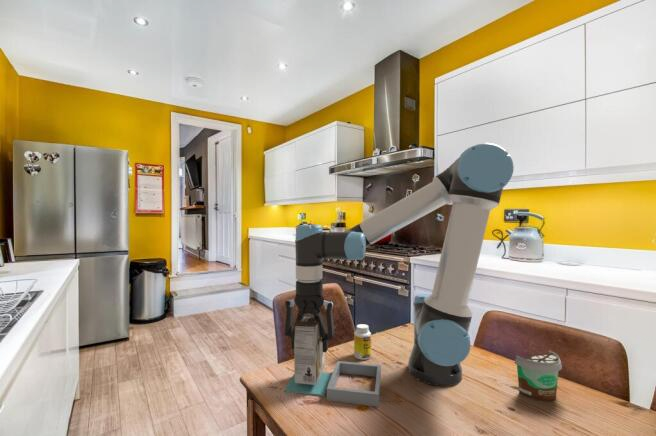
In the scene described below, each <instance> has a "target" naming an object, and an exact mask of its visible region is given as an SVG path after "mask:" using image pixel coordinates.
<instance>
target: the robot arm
mask: <svg viewBox="0 0 656 436" xmlns="http://www.w3.org/2000/svg"><path fill="white" fill-rule="evenodd" d="M514 167H515V166H514V161H513V158H512V156H511V155H510V154H509V152H508V151H507V150H506V149H505V148H503V147H502V146H501V145H498V144H495V143H490V142H485V143H484V142H483V143H477V144H476V145H473V146H470V147H468V148H466V149H465V150H464V151H463V152H462V153H461V154H460V156H459V157H457V159H455V160H454V161H453V162H452V164H450V165H449V167H447V168H446V169H444V170H442V172H440V173H439V174H436V175H435V176H434V177H433V180H432V182H429V183H427V185H424V186H423V187H421V188H419V189H417V190H416V191H414V192H412V193H410V194H409V195H407V196H406V197H403V198H401V199H399V200H398V201H397V202H395V203H393V204H391V205H389V206H387V207H386V208H383V209H382V210H381V211H379V212H377V213H375V214H374V215H372V216H370V217H368V218H366V219H365V220H363V221H361V222H360V223H358V224H356V225H354V226H353V227H351V228H349V229H347V230H345V231H324V230H323V226H322V225H321V224H299V225H297V227H296V228H295V240H294V244H295V245H294V246H295V279H296V281H295V297H294V298H293V299H292V298H288V299H287V300H286V301H285V302H284V304H285V308H286V309H285V310H286V312H285V313H286V314H285V326H284V335H285V337H290V339H291V344H290V345H291V350H292V351H294V327H293V321H294V320H293V319H294V318H293V317H294V306H295V305H296V306H297V308H298V312H297V316H296V319H295V322H294V324H295V323H296V321H297V320H301V319H302V318H303V316H304V314H313V315H314V318H315V319H316V321H319V332H320V335H321V340H320V341H319V350H320V365H323V363H324V364H325V353H327V352H328V350H329V340H330V341H331V340H333V338H334V336H335V326H334V318H333V317H334V315H333V314H334V313H333V308H334V305H335V304H334V301H333V300H331V301H328V300H325V298H324V295H323V293H324V292H323V291H324V290H323V288H324V287H323V286H324V285H323V283H324V282H323V260H344V261H345V260H347V261H349V260H350V261H356V260H357V261H358V260H359V261H361V260H364V259H365V256H366V250H367V249H366V248H368V247H369V246H371V245H374V244H375V243H377V242H378V241H380V240H382V239H384V238H386V237H388V236H389V235H391V234H394V233H395V232H397V231H399V230H401V229H403V228H404V227H407V226H408V225H409V224H412V223H413V222H415V221H417V220H418V219H421V218H422V217H424V216H426V215H428V214H430V213H432V212H434V211H435V210H438V209H440V208H441V207H443V206H445V205H450V206H451V205H452V206H451V210H450V214H449V218H448V223H447V228H446V232H445V237H444V241H443V245H442V250H441V252H440V253H441V254H440V258H439V262H438V267H437V270H436V275H435V279H434V284H433V288H432V292H431V293H418V294H417V295H414V299H413V347H412V350H411V352H410V355H409V358H408V367H407V368H408V372H409V373H410V375H411V376H412V377H414V378H415V379H416V380H418V381H420V382H422V383H424V384H425V383H426V384H429V385H433V386H439V387H448V386H453V385H458V383H460V382H461V381H462V380H463V368H462V365H461V363H462V362H464V361H465V360H466V359H467V358H468V357H469V354H470V351H471V345H472V344H471V337H470V335H469V331H470V325H471V323H472V317H473V312H472V310H471V308H470V307H469V305H468V304H469V300H470V297H471V293H472V287H473V283H474V280H475V275H476V272H477V267H478V263H479V258H480V255H481V251H482V246H483V242H484V238H485V233H486V230H487V226H488V221H489V217H490V213H491V211H492V210H494V209H496V208H497V207H498V206H499V205H500V202H501V198H502V193H503V191H504V190H503V189H504V188H505V187H506V186H507V185H508V184H509V182H510V181H511V179H512V177H513V173H514ZM322 306H324V309H325V310H326V311H325V313H326V314H325V315H326V324H327V325H325V322H324V318H323V319H322V315H323V314H322V311H321V307H322ZM326 326H327V328H326Z"/></svg>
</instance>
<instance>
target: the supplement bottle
mask: <svg viewBox="0 0 656 436" xmlns="http://www.w3.org/2000/svg"><path fill="white" fill-rule="evenodd" d="M353 338H354V339H353V340H354V341H353V343H354V344H353V347H354V349H353V353H354V355H353V356H354V357H355V359H358V360H362V361H363V360H369V359H370V358H371V356H372V332H370V329H369V325H368V324H364V323H363V324H362V323H360V324H356V330H354V335H353Z"/></svg>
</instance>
